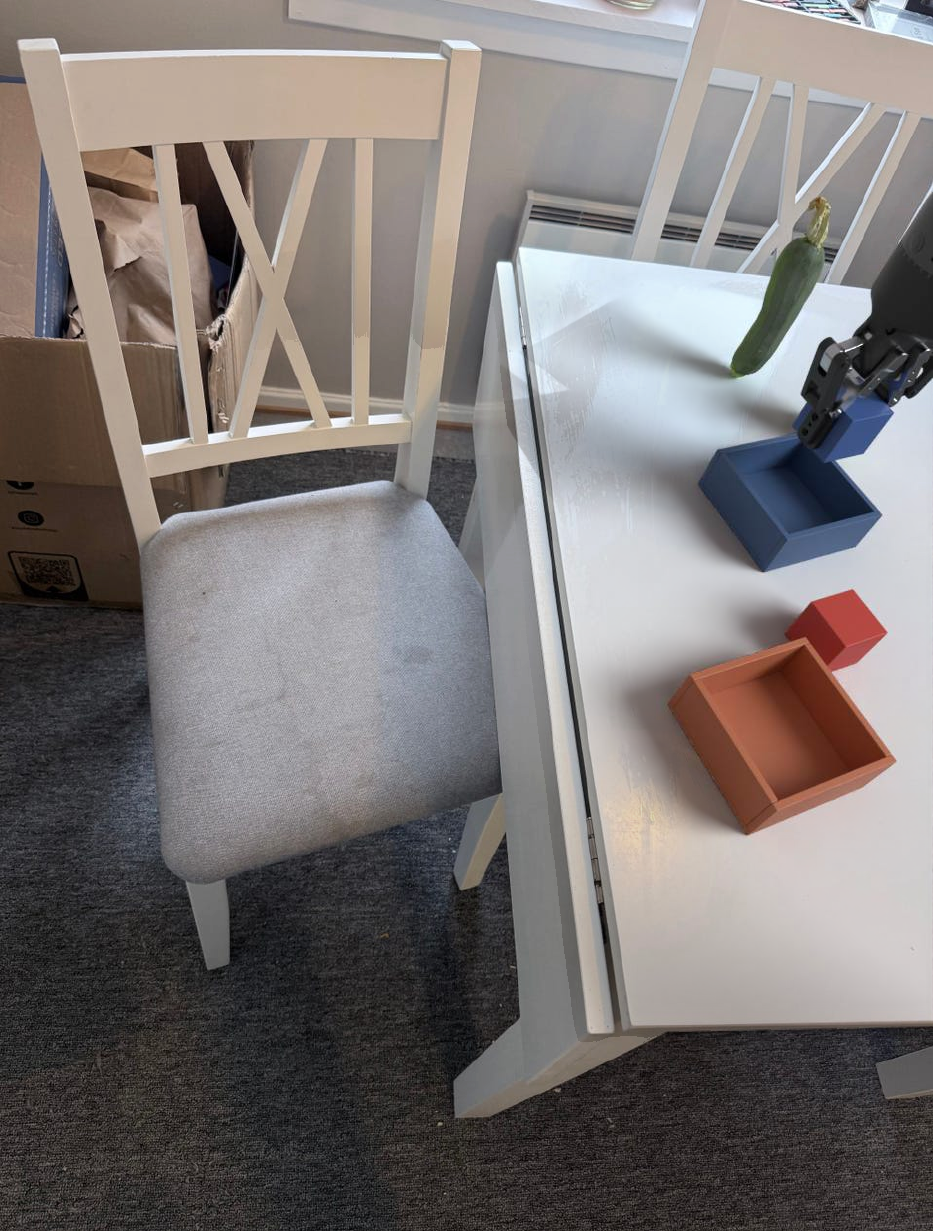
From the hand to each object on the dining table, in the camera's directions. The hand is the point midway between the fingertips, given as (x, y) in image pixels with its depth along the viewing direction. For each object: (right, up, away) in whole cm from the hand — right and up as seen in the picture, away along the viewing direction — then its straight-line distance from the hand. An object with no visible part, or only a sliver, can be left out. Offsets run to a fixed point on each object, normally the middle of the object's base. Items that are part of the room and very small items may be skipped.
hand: (829, 437), depth 72 cm
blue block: (0, 0, 0) cm, 0 cm away
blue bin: (-2, -6, +8) cm, 10 cm away
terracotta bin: (-8, -25, -7) cm, 27 cm away
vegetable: (-2, +10, +20) cm, 22 cm away
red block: (-1, -18, -1) cm, 18 cm away
